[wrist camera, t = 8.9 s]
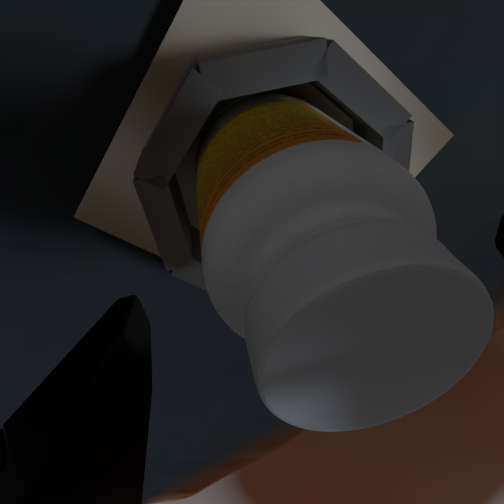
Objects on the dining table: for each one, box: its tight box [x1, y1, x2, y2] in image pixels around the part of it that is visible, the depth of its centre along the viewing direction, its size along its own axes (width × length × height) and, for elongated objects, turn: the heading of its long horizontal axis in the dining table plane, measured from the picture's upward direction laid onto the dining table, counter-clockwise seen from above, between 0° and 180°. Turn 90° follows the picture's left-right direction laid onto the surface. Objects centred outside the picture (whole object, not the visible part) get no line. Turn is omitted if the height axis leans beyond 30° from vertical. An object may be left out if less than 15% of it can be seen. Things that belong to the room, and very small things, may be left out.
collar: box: [74, 0, 453, 291], centre depth 13 cm, size 11×11×3 cm
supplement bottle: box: [195, 92, 494, 432], centre depth 10 cm, size 5×5×10 cm
